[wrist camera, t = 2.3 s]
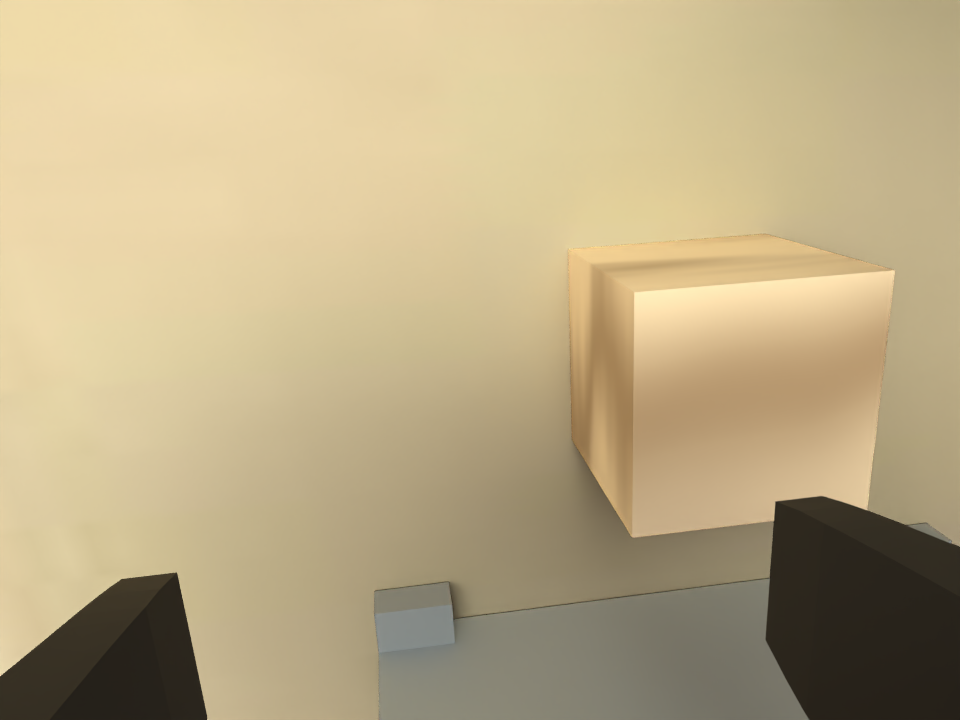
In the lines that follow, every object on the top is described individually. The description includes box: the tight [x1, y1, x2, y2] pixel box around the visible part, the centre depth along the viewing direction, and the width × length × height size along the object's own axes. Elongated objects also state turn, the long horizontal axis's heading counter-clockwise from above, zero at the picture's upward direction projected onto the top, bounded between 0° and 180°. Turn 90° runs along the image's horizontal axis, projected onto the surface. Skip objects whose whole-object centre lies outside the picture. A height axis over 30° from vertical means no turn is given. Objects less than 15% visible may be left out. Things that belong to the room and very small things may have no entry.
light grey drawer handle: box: [374, 523, 952, 720], centre depth 19 cm, size 4×16×6 cm, turn 93°
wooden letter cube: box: [568, 234, 895, 538], centre depth 17 cm, size 5×5×5 cm
